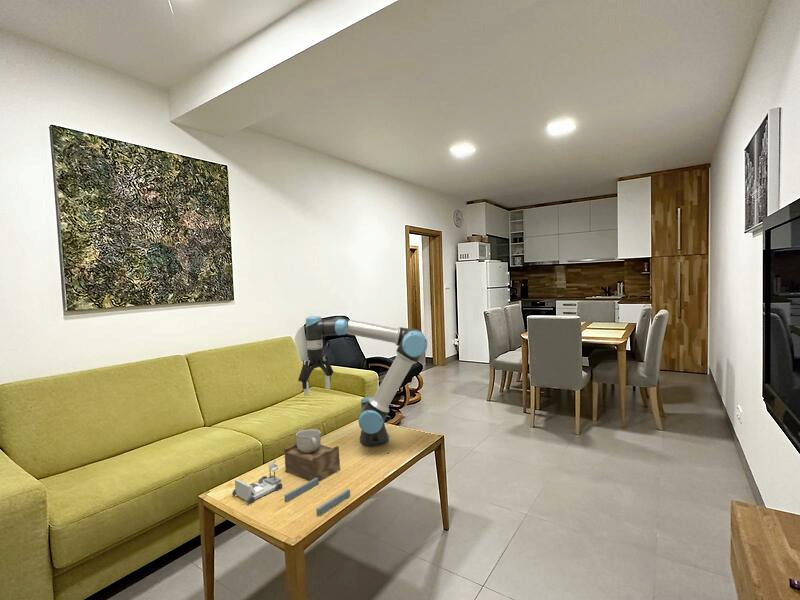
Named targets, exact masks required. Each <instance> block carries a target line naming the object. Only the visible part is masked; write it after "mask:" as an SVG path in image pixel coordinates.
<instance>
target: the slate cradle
mask: <svg viewBox="0 0 800 600" xmlns="http://www.w3.org/2000/svg"><path fill="white" fill-rule="evenodd" d="M319 482H320V481H319ZM319 482H318V478H315V479H313V480H311V481H309V480H308V481H307V482H306V483H304V484H302V485H300V486H298V487H297V488H294V489H293V490H291V491H289V492H287V493H285V494H284V502H285V503H288V502H290V501H291V500H293V499H295V498H297V497H298V496H300V495H302V494H304V493H306V492H307V491H309V490H311V489H313V488H315V487H316V486H318V485H319ZM349 496H350V497H351V489H349V488H347V489H346V490H344V491H342V492H341V493H339V494H337V495H335V496H334V497H332V498H331V499H329V500H328V501H326V502H324V503H323V504H321V505H320V506H318V507H317V508H316V509H315V510H316V517H321V516H323V513H324V514H326V513H327V512H329V511H330V510H332V509H333V508H335V507H336V506H337V505H339V504H340V502H341V503H342V502H343V500H344V501H345V500H347V499H348V498H350V497H349ZM346 498H347V499H346ZM320 515H321V516H320Z"/></svg>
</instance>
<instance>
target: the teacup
mask: <svg viewBox="0 0 800 600" xmlns="http://www.w3.org/2000/svg"><path fill="white" fill-rule="evenodd" d="M321 434H322V431H321V430H319V429H315V428H314V429H312V428H311V429H303V430H300V431H297V432H296V433H295V437H296V438H295V439H296V443H297V448H298V449H299V450H300V451H301V452H304V453H310V452H314V451H316V450H317V449H318V448H319V446H320V445H321V442H322V441H321V440H322V437H321V436H322V435H321ZM296 443H295V444H296Z"/></svg>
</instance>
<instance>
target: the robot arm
mask: <svg viewBox="0 0 800 600" xmlns="http://www.w3.org/2000/svg"><path fill="white" fill-rule="evenodd" d="M305 335H306V336H305V337H306V349H307V351H306V352H307V353H306V355H307V356H306V357H307V358H308V359H307V360H302V367H301V371H300V374H299V376H298V380H297V381H298V382H300V383H302V386H301V387H302V389H303V396H306V397H309V396H310V386H309V381H308V380H309V378H310V376H311V374H312V372H313V371H314V370H315V369H317V368H320V369H321V370H322V371H323V373H324V374H325V375H324V386H325V387H324V388H325V389H326V390H331V378H332V377H331V376H332V375H333V374H334V370H333V368H332V366H331V363H330V361H329V356H327V355H324V348H323V347H324V346H323V344H324V343H323V337H327V336H345V335H352V336H355V337H361V338H365V339H371V340H377V341H383V342H387V343H393V344H395V345H396V346H397V348H396V356H395V358H394V359H393V362H392V363H391V366H390V367H389V369H388V370H387V373H386V374H385V376H384V378H383V379H382V381H381V383H380V384H379V386H378V388H377V390H376V392H375V394H374V395H373V396H364V397H362V398H361V399H360V408H361V409H360V413H359V415H358V425H359V428H360V429H361V431H360V436H359V443H360V445H361V446H364V447H379V446H383V445H386V444H387V443H388V442H389V440H390V437H389V436H390V435H389V433H388V432H387V428H386V425H385V423H386V421H385V420H386V418H387V416H388V414H389V413H390V408H389V407H390V404H392V403H391V402H392V401H393V399H394V398H395V396H396V394H397V392H398V391H399V389H400V387H401V385H402V384H403V382H404V380H405V377H406V376H407V375H408V373H409V372H410V370H411V368H412V365H413V364H414V365H415V364H417V363H418V362H419V360H420V358H421V356H423V354H425V352H426V351H427V349H428V339H427V337H426V335H424V333H423V332H422V331H421V330H420V329H418V328H410V327H408V328H407V327H401V326H400V327H398V328H396V327H391V326H387V325H386V326H385V325H380V324H374V323H368V322H364V321H358V320H354V319H349V318H344V317H342V316H337V317H334V318H333V319H324V320H323V319H322V317H321V316H319V315H317V316H315V315H313V316H308V317H306V318H305Z"/></svg>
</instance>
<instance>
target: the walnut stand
mask: <svg viewBox="0 0 800 600" xmlns="http://www.w3.org/2000/svg"><path fill="white" fill-rule="evenodd" d="M283 452H284V453H283V454H284V465H285V467H284V468H285V469H284V470H285V472H286V473H288V474H291V475H293V476H296V477H298V478H301V479H304V480H306V481H308V482H309V481H311V480H313V479H315V478H318V482H321V481H323V480H324V479H327V478H328V477H330V476H331V475H333V474H335V473H337V472H339V471H341V463H340V462H341V461H340V446H338V445H336V446H334V447H330V446H327V445H324V444H320V446H319V448H318V449H317V450H316V451H314V452H310V453H304V452H301V451H300V450H299V449H298V448H297V443H294V444H292V445H291V444H290V445H289V446H287V447H284V451H283Z"/></svg>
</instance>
